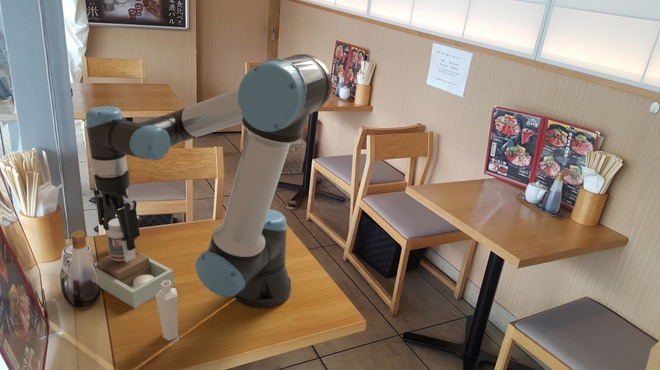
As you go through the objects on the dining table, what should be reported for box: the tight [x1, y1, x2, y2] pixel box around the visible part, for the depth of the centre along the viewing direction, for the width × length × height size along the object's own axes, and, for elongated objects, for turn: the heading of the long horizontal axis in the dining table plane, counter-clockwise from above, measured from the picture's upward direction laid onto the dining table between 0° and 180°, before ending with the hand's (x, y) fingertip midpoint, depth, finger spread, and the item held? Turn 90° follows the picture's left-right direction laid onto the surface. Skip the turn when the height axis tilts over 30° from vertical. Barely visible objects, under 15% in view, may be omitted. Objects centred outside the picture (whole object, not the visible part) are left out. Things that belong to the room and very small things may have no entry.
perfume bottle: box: [155, 281, 180, 345], centre depth 102 cm, size 5×4×15 cm
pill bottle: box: [106, 217, 124, 261], centre depth 118 cm, size 6×6×10 cm
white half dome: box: [133, 275, 154, 289], centre depth 118 cm, size 5×5×3 cm
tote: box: [94, 250, 175, 309], centre depth 121 cm, size 18×12×6 cm, turn 58°
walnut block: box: [95, 250, 151, 288], centre depth 122 cm, size 9×9×6 cm
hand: (122, 255), depth 120 cm, fingers closed on pill bottle, 6 cm apart
